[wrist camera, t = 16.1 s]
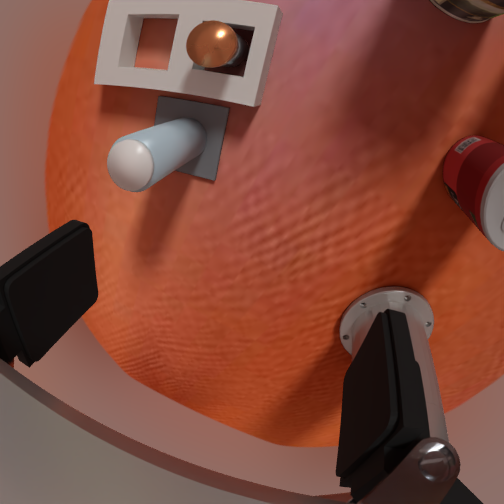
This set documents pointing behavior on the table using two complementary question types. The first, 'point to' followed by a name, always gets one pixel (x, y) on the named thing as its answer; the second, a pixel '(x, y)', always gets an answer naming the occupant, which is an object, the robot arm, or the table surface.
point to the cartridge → (154, 153)
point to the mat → (213, 124)
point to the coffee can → (471, 9)
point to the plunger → (216, 45)
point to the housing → (180, 65)
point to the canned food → (478, 184)
